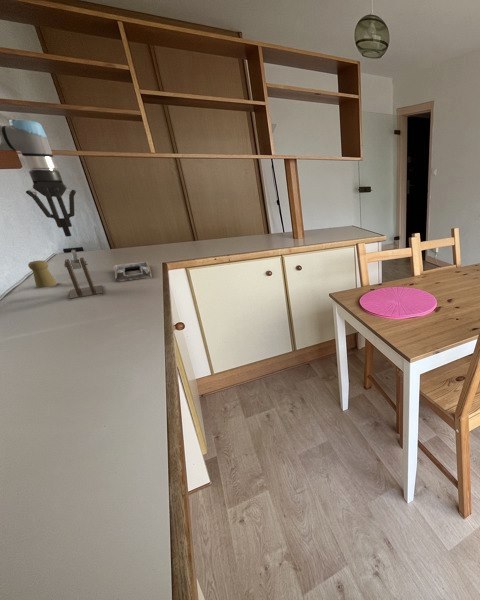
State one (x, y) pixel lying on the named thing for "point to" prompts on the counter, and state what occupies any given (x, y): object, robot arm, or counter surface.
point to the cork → (41, 274)
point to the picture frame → (132, 266)
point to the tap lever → (74, 256)
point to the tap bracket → (78, 291)
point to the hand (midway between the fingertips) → (68, 235)
